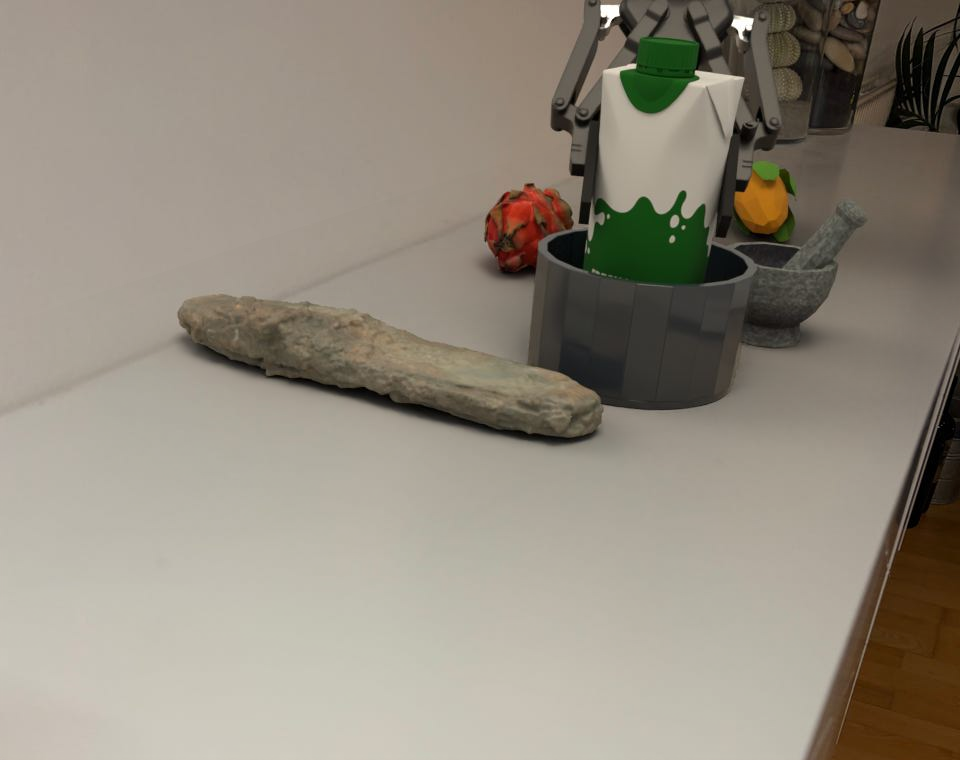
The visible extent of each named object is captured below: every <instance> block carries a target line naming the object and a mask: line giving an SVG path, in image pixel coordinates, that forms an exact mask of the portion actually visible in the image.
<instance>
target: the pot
mask: <svg viewBox="0 0 960 760" xmlns="http://www.w3.org/2000/svg"><path fill="white" fill-rule="evenodd" d="M587 231H588V227H583V228H572V229H571V230H566V231H562V232H558V233H554V234H550V235H548V236H547V237H545V238H544V239H542V240H541V241H539V242H538V252H537V263H536V269H535V275H534V285H533V286H534V287H533V296H532V307H531V317H530V327H529V328H530V330H529V340H528V349H527V350H528V352H527V366H531V367H539V368H543V369H547V370H550V371H555V372H559V373H561V374H564V375H566V376H568V377H569V378H571V379H572V380H573V381H576V382H578V383H579V384H580V385H582V386H583V387H585V388H588V389H590V390H593V391H595V392H596V394H597V395H599V397H600V399H601V404H603V405H609V406H614V407H622V408H629V409H641V410H642V409H643V410H675V409H678V410H679V409H688V408H694V407H700V406H703V405H709V404H711V403H714V402H716V401H718V400H720V399H723V398H724V397H725V396H726V395H728V394H729V393H730V391H731V390H732V388H733V385H734V381H735V379H736V376H737V372H738V367H739V361H740V358H741V352H742V348H743V343H744V342H743V338H744V333H745V328H746V323H747V319H748V314H749V309H750V304H751V299H752V294H753V289H754V285H755V280H756V275H757V270H758V268H757V267H756V265H755V263H754V261H753V260H752V259H751V258H749V257H748V256H746V255H744V254H743V253H741V252H739V251H738V250H736V249H733V248H730V247H727V246H728V245H724V244H722V243H719V242H716V241H713V240H712V244H711V249H710V255H709V259H708V264H707V269H706V274H705V278H704V283H703V284H664V283H652V282H640V281H634V280H628V279H622V278H616V277H610V276H604V275H600V274H596V273H593V272H589V271H585V270H583V264H584V256H585V248H586V239H587Z"/></svg>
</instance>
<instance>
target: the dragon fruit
mask: <svg viewBox="0 0 960 760" xmlns="http://www.w3.org/2000/svg"><path fill="white" fill-rule="evenodd" d="M572 216H573V210H572V206H570V204H569V203H568V202H567V201H566V200H564V199H563V198H562V197H561V194H560V192H559V190H557V189H556V188H551V187H547V188H545V189H544V191H542V190H541V188H537V187H536V186H535V183H534V182H525V183H524V185H523V188H522V190H516V189H510V190H507V191H506V192H504V193H503V194H502V195H501V196H500V197H499V199H498V200H497V201H496V203H495V204H494V206H492V208H491V209H490V210H489V211H488V213H487V214H486V217H485V219H484V233H483V235H484V236H483V241H484V242H485V243H487V246H488V248H489V250H490V251H491V253H492V255H493V256H494V257H495V258H497V259H496V260H497V262H498V266H497V271H499V272H501V273H503V272H510V273H516V272H518V271H520V270H521V269H523V268H526V267H527V266H532V267H533V268H534V269H535V270H536V263H537V252H538V242H539V241H541V240H542V239H544V238H545V237H547V236H548V235H550V234H554V233H558V232H562V231H566V230H571V229H573V227H574V225H575V221H574V219H573V218H572Z"/></svg>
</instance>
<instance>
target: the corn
mask: <svg viewBox="0 0 960 760" xmlns="http://www.w3.org/2000/svg"><path fill="white" fill-rule="evenodd" d="M789 194H790V195H792V196H793V197H794V202H797V184H796V181H795V179H794V178H793V176H792V175H791V173H790V171H788V170H787V169H786V168H779V166H778V164H776V163H774V162H769V161H765V160H759V161H756V162H753V166H752V175H751V178H750V181H749V184H748V187H747V188H746V190H745V192H735V200H734V211H733V219H734V220H735V222H736V223H737V226H738V227H739V229H740V230H741V231H742V233H743V234H745V235H747V236H749V237H750V236H751V232H752V233H755V234H765V235H770V234H771V235H773V237H774V238H775V239H776V241H778V242H779V243H781V242H786V241H788V240H789V239H790V238H791V236H792V235H793V232H794V229H795V226H796V221H795V216H794V214H793V211H792V209H791V207H790V205H789Z"/></svg>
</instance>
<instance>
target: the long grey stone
mask: <svg viewBox="0 0 960 760" xmlns="http://www.w3.org/2000/svg"><path fill="white" fill-rule="evenodd" d="M177 319H178V325H179V327H181V328H182V329H184V330H186V333H187V337H188V339H189V340H192V341H193V343H196V344H201V345H203V346H206V347H208V348H209V349H211V350H213V351H214V352H216V353H218V354H221V355H223V356H224V357H227V358H228V359H229V360H231V361H238V362H240V363H241V362H243V363H245V364H247V365H249V366H257V367H259V368H260V369H261V370H265V375H266V376H267V377H273V376H283V377H285V378H290V379H297V378H302V379H309V380H312V381H314V382H317V383H320V384H323V385H333V386H337V387H338V388H340V389H348V388H350V389H355V388H363V387H365V388H366V389H368V390H369V391H372V392H376V393H377V394H379V395H381V396H384V395H389V397H390V399H391V400H392V401H393V402H394V403H400V404H413V405H421V406H424V407H428V408H430V409H431V408H433V409H435V410H438V411H441V412H444V413H449V414H450V415H452V416H454V417H457V418H460V419H463V420H468V421H471V422H474V423H477V424H481V425H486V426H488V427H490V428H493V429H495V430H498V431H503V430H507V431H513V432H514V431H522V432H524V433H526V434H529V435H532V434H539V435H543V436H551V437H556V438H557V437H561V438H576V437H583V436H586V435H588V434H592V433H593V432H594V431H595V430H597V429H598V427H599V426H600V425H601V424H602V422H603V421H602V419H603V413H604V410H605V408H604V406H603V405H602V403H601V399H600V397H599V395H597V394H596V392H595V391H593V390H590V389H588V388H585V387H583V386H582V385H580V384H579V383H578V382H576V381H573V380H572V379H571V378H569V377H568V376H566V375H564V374H561V373H559V372H555V371H550V370H547V369H543V368H539V367H531V366H528V364H527V365H526V364H522V363H519V362H517V361H513V360H510V359H506V358H501V357H498V356H496V355H493V354H489V353H485V352H482V351H477V350H473V349H470V348H467V347H459V346H455V345H452V344H448V343H443V342H442V343H441V342H437V341H431V340H428V339H424V338H422V337H420V336H418V335H416V334H414V333H412V332H410V331H406V330H404V329H400V328H397V327H394V326H391V325H390V324H387V323H386V322H384V321H382V320H381V319H377V318H375V317H373V316H372V315H371V314H369V313H367V312H364V313H363V312H361V311H358V310H357V309H355V308H344V307H340V308H335V307H332V306H327V305H320V304H317V303H315V304H314V303H311V302H310V301H308V300H304V301H300V302H289V301H282V300H273V299H261V298H256V297H255V296H250V295H242V296H240V297H237V296H233V295H229V294H225V293H219V294H209V295H208V294H207V295H198V296H194V297H190V298H187V299H185V300H184V301H183V303H182V304H181V306H180V307H179V308H178V310H177Z"/></svg>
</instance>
